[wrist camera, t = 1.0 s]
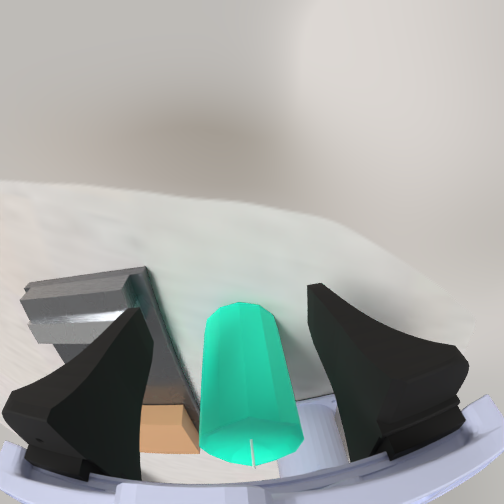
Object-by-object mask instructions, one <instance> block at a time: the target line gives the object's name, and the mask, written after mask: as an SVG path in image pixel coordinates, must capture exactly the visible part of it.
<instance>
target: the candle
mask: <svg viewBox="0 0 504 504" xmlns="http://www.w3.org/2000/svg"><path fill="white" fill-rule="evenodd" d="M303 441H304V435H303V431H302V427H301V423H300V418H299V414H298V410H297V406H296V402H295V397H294V393H293V389H292V385H291V381H290V377H289V372H288V368H287V364H286V360H285V356H284V352H283V348H282V344H281V339H280V335H279V331H278V328H277V325H276V322H275V319H274V316H273V314H271V313H270V312H268V311H267V310H265V309H264V308H263V307H261V306H260V305H256V304H249V303H242V302H237V303H234V304H230V305H227V306H224V307H220V308H219V309H218V310H217V311H216V312H215V313H213V314H212V315H211V316H210V317H209V318H208V319H207V323H206V328H205V334H204V348H203V364H202V381H201V401H200V426H199V447H200V448H202V449H203V450H204V451H206V452H207V453H208V454H210V455H212V456H215V457H217V458H220V459H222V460H225V461H227V462H231V463H236V464H242V465H249V466H253V469H256V467H255V466H257V465H260V464H264V463H267V462H271V461H274V460H277V459H280V458H282V457H285V456H287V455H289V454H292V453H294V452H296V451H297V449H298V448H299V446H300V445H301V444H302V442H303Z"/></svg>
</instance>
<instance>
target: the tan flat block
mask: <svg viewBox="0 0 504 504" xmlns="http://www.w3.org/2000/svg"><path fill="white" fill-rule="evenodd" d="M140 452H145V453H164V454H200V447H199V433H198V431H197V430H196V428H195V426H194V424H193V422H192V420H191V419H190V417H189V415H188V413H187V411H186V409H185V407H184V405H142V410H141V422H140Z"/></svg>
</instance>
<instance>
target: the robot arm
mask: <svg viewBox="0 0 504 504" xmlns="http://www.w3.org/2000/svg"><path fill="white" fill-rule="evenodd" d="M307 298H308V326H309V330H310V333H311V337H312V340H313V343H314V345H315V348H316V350H317V352H318V355H319V357H320V359H321V362H322V364H323V366H324V369H325V371H326V373H327V376H328V378H329V380H330V383H331V385H332V388H333V391H334V394H331V395H326V396H322V397H317V398H312V399H308V400H302V401H297V402H296V406H297V410H298V414H299V418H300V423H301V427H302V431H303V435H304V441H303V442H302V444H301V445H300V446H299V448H298V449H297V451H296V452H294V453H292V454H289V455H287V456H285V457H282V458H280V459H277V462H278V468H279V474H280V478H277V479H270V480H262V481H253V482H241V483H226V484H172V483H157V482H146V481H142V479H141V468H140V422H141V410H142V404H143V399H144V394H145V390H146V385H147V381H148V377H149V373H150V369H151V364H152V358H153V348H154V341H153V338H152V336H151V334H150V331H149V329H148V326H147V324H146V321H145V319H144V316H143V313H142V311H141V308H140V307H136V308H128V309H126V310H125V311H124V312H123V313H122V314H121V315H120V316H119V317H118V318H117V319H116V320H114V321H113V322H112V323H111V324H110V325H109V326H108V327H107V328H106V329H105V330H104V331H103V332H102V333H101V334H100V335H99V336H98V337H97V338H96V339H95V340H94V341H93V342H92V343H91V344H90V345H89V346H87V347H86V348H85V349H84V350H83V351H82V352H81V353H79V354H78V355H77V356H76V357H74V358H73V359H72V360H70V361H69V362H68V363H66V364H65V365H63V366H62V367H60V368H59V369H57V370H56V371H54V372H53V373H51V374H49V375H47V376H46V377H44V378H42V379H40V380H38V381H36V382H34V383H32V384H30V385H27V386H25V387H22V388H20V389H17V390H15V391H12V392H11V394H10V396H9V398H8V400H7V402H6V404H5V406H4V408H3V410H2V415H3V418H4V420H5V421H6V423H7V424H8V425H9V426H10V427H11V428H12V429H13V430H14V431H15V432H16V433H17V434H18V435H19V436H20V437H21V438H22V439H23V440H24V441H26V442H27V443H28V444H29V445H28V449H25V448H23V447H22V446H19V445H17V444H14V443H12V442H9V441H5V442H4V445H3V447H2V450H1V452H0V490H2V491H3V492H5V493H6V494H8V495H9V496H11V497H12V498H14V499H16V500H17V501H19V502H21V503H22V504H427V503H428V502H430V501H432V500H434V499H436V498H438V497H440V496H441V495H443V494H445V493H446V492H448V491H450V490H452V489H453V488H455V487H457V486H458V485H460V484H462V483H463V482H464V481H466V480H468V479H469V478H470V477H472V476H474V475H475V474H477V473H478V472H480V471H481V470H483V469H484V468H485V467H486V466H488V465H489V464H490V463H491V462H492V461H493V460H495V459H496V458H497V457H498V456H499V455H500V454H501V453H502V452H503V451H504V417H503V416H502V414H501V412H500V411H499V410H498V408H497V406H496V405H495V403H494V402H493V401H492V399H491V398H490V396H489V395H488V394H486V395H484V396H483V397H481V398H479V399H478V400H476V401H474V402H473V403H471V404H469V405H468V406H466V407H465V408H464V409H463V410H462V411H460V409H459V407H458V406H457V405H458V404H459V403H460V400H459V398H458V397H457V395H456V394H457V392H458V391H459V389H460V387H461V385H462V384H463V382H464V380H465V378H466V376H467V374H468V370H469V364H468V361H467V360H466V359H465V357H464V356H463V355H462V354H461V352H460V351H459V350H458V349H457V347H456V346H454V345H448V344H442V343H437V342H432V341H428V340H424V339H421V338H417V337H414V336H411V335H408V334H405V333H403V332H400V331H398V330H395V329H393V328H390V327H388V326H386V325H384V324H382V323H380V322H378V321H376V320H374V319H372V318H371V317H369V316H367V315H366V314H364V313H362V312H361V311H359V310H358V309H356V308H355V307H353V306H352V305H350V304H349V303H347V302H346V301H345V300H343V299H342V298H340V297H339V296H338V295H337V294H335V293H334V292H333V291H331V290H330V289H329V288H327V287H326V286H325V285H323V284H322V283H318V284H312V285H307ZM337 405H338V409H339V413H340V416H341V420H342V424H343V428H344V433H345V437H346V442H347V446H348V451H349V456H350V462H351V463H349V462H348V458H347V455H346V452H345V449H344V446H343V443H342V440H341V437H340V434H339V430H338V427H337V424H336V421H335V413H336V408H337Z"/></svg>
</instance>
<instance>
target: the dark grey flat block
mask: <svg viewBox="0 0 504 504" xmlns="http://www.w3.org/2000/svg"><path fill="white" fill-rule="evenodd" d="M24 289H25V292H26V294H25V295H24V296H23V297H22V298H21V299H20V302H21V304H22V306H23V308H24V310H25V312H26V314H27V316H28V318H29V320H30V322H29V323H28V324H27V325H28V326H29V328H30V330H31V332H32V333H33V335H34V337H35V339H36V340H37V342H38V343H42V344H53V345H54V347H55V348H56V350H57V352H58V353H59V355H60V357H61V358H62V360H63V361H64V363H65V364H66V363H68V362H69V361H70V360H72V359H73V358H74V357H76V356H77V355H78V354H79V353H81V352H82V351H83V350H84V349H85V348H86V347H87V346H89V345H90V344H91V343H92V342H93V341H94V340H95V339H96V338H97V337H98V336H99V335H100V334H101V333H102V332H103V331H104V330H105V329H106V328H107V327H108V326H109V325H110V324H111V323H112V322H113V321H114V320H116V319H117V318H118V317H119V316H120V315H121V314H122V313H123V312H124V311H125V310H126V309H128V308H136V307H140V308H141V311H142V313H143V316H144V319H145V321H146V324H147V326H148V329H149V331H150V334H151V336H152V338H153V341H154V348H153V358H152V364H151V369H150V373H149V377H148V381H147V385H146V390H145V394H144V399H143V404H142V405H184V407H185V409H186V411H187V413H188V415H189V417H190V419H191V420H192V422H193V424H194V426H195V428H196V430H197V431H198V433H199V426H200V409H199V407H198V405H197V403H196V401H195V398H194V396H193V394H192V392H191V389H190V387H189V385H188V382H187V380H186V378H185V375H184V373H183V371H182V368H181V366H180V363H179V361H178V358H177V356H176V353H175V351H174V348H173V346H172V343H171V340H170V338H169V335H168V332H167V330H166V327H165V324H164V321H163V318H162V316H161V313H160V310H159V307H158V304H157V301H156V298H155V295H154V292H153V289H152V286H151V283H150V279H149V276H148V273H147V270H146V266H144V267H137V268H130V269H123V270H116V271H109V272H102V273H94V274H87V275H80V276H73V277H66V278H59V279H52V280H44V281H37V282H30V283H29V284H28V285H27V286H26V287H25V288H24Z"/></svg>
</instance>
